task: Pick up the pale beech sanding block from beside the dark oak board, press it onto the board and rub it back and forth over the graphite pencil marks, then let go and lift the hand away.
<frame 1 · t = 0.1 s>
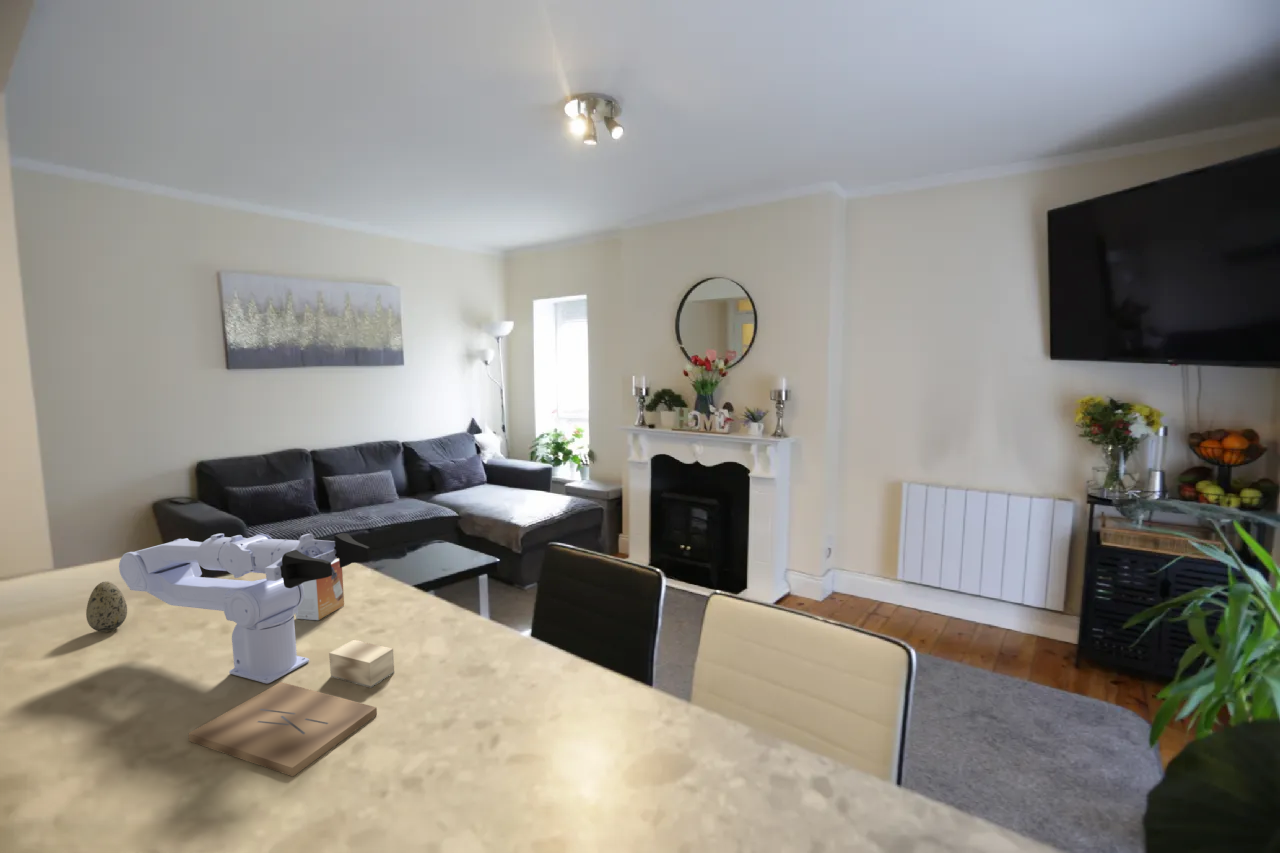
hand: (350, 561, 92), 22 cm above the countertop, tool horizontal, fingers open, 7 cm apart
small box: (320, 613, 124), on the countertop
decorative egg: (109, 631, 116), on the countertop
sanding block: (362, 675, 100), on the countertop
oak board: (286, 727, 85), on the countertop
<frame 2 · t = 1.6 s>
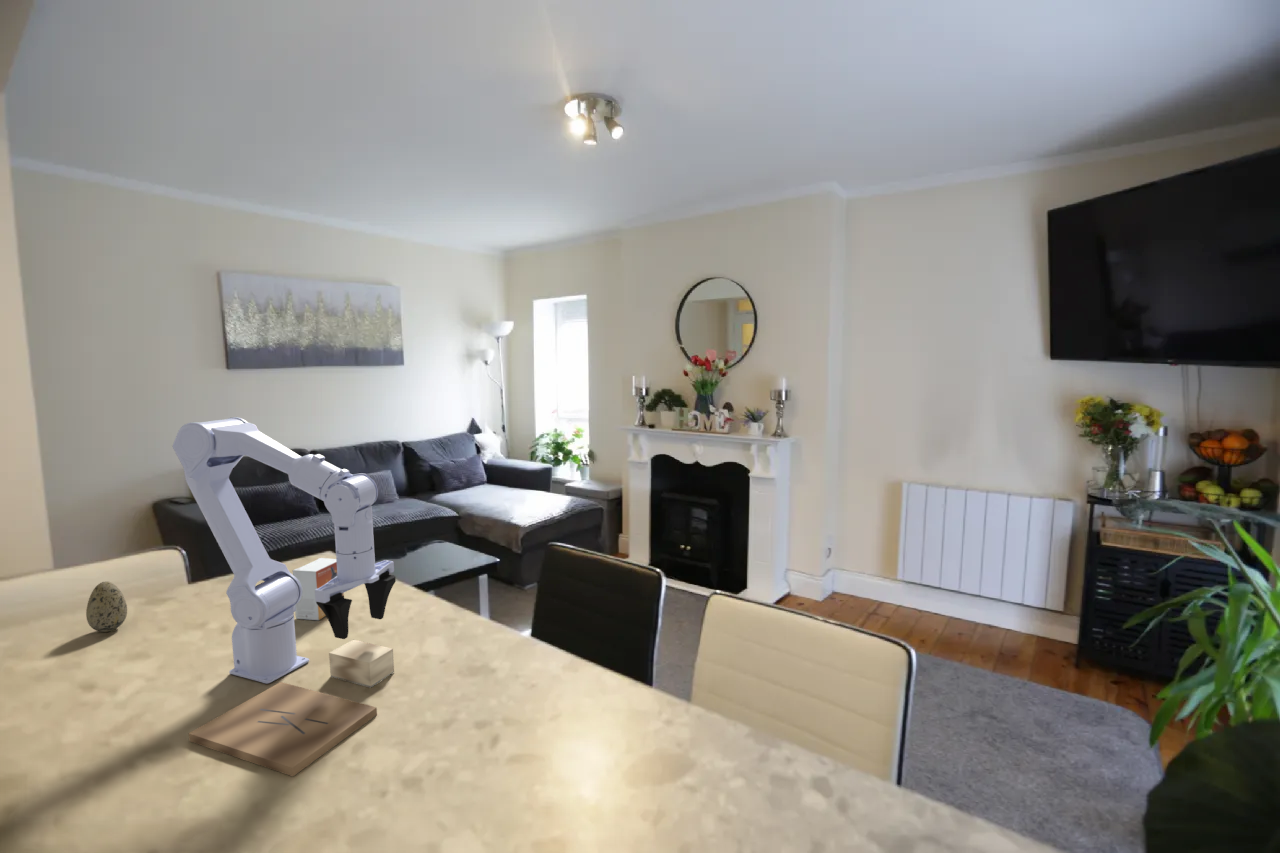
hand: (359, 627, 99), 8 cm above the countertop, tool pointing down, fingers open, 7 cm apart
nothing on the countertop moved.
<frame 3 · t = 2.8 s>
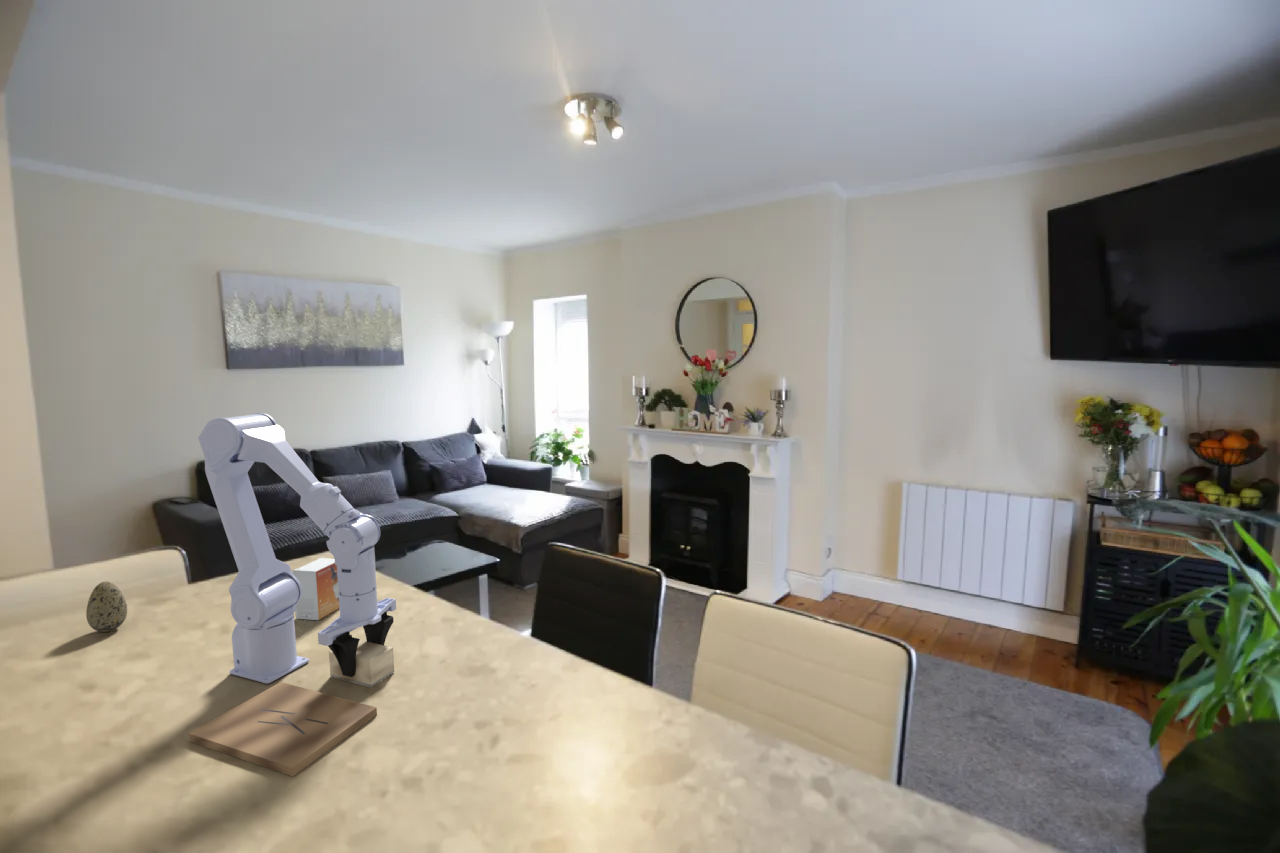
hand: (362, 666, 99), 1 cm above the countertop, tool pointing down, fingers closed on sanding block, 5 cm apart
sanding block: (362, 674, 100), on the countertop, touching gripper
everything else where it was.
when the fingers open (3 cm above the countertop, at t = 14.2 s): sanding block stays where it is, resting on oak board.
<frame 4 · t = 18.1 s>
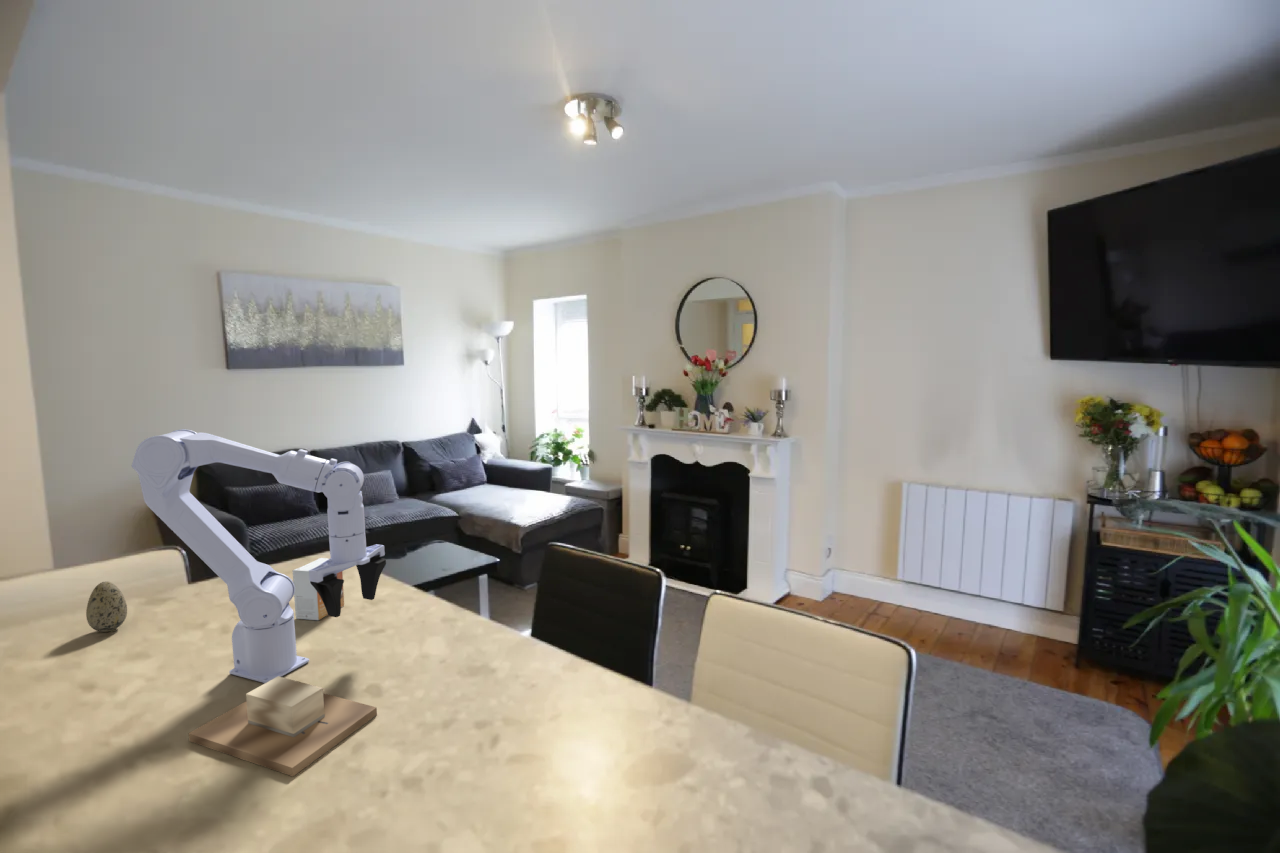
hand: (352, 606, 104), 9 cm above the countertop, tool pointing down, fingers open, 7 cm apart
sanding block: (286, 720, 85), point 1 cm above the countertop, touching oak board
everything else where it was.
at the end: sanding block inside the target area (0.2 cm from its centre), point 1.2 cm above the countertop; sanding block tilted 0°; the gripper is holding nothing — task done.
